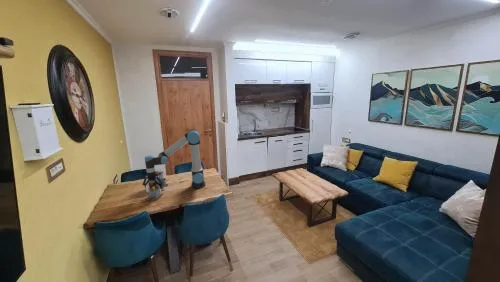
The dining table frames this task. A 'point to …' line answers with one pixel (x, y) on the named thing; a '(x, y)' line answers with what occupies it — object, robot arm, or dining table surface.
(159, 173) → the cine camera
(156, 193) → the hollow square steel tube
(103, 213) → the dining table surface
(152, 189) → the peg on base
